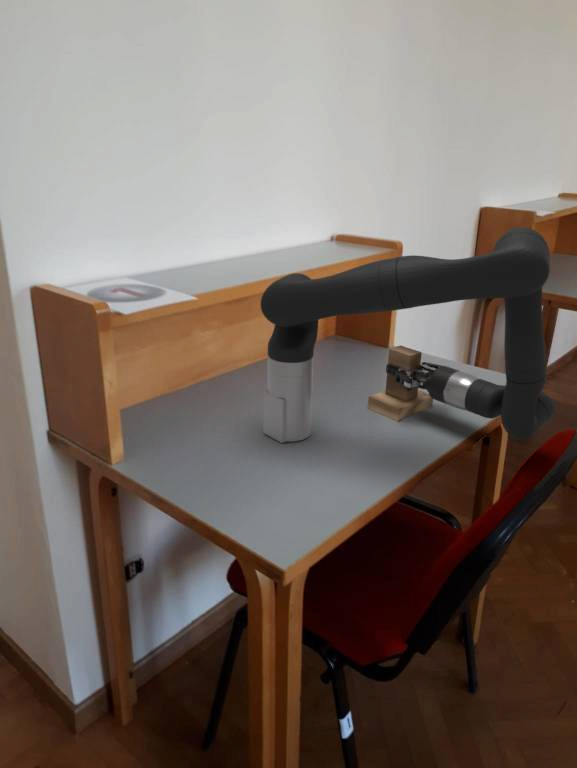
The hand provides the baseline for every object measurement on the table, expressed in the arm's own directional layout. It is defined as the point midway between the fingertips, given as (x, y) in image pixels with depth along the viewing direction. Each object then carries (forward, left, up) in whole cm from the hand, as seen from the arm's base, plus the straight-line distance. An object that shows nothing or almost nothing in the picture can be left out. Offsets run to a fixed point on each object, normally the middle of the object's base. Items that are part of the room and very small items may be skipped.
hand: (394, 366), depth 145 cm
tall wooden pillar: (0, -3, -6) cm, 7 cm away
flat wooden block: (0, -3, -9) cm, 10 cm away
